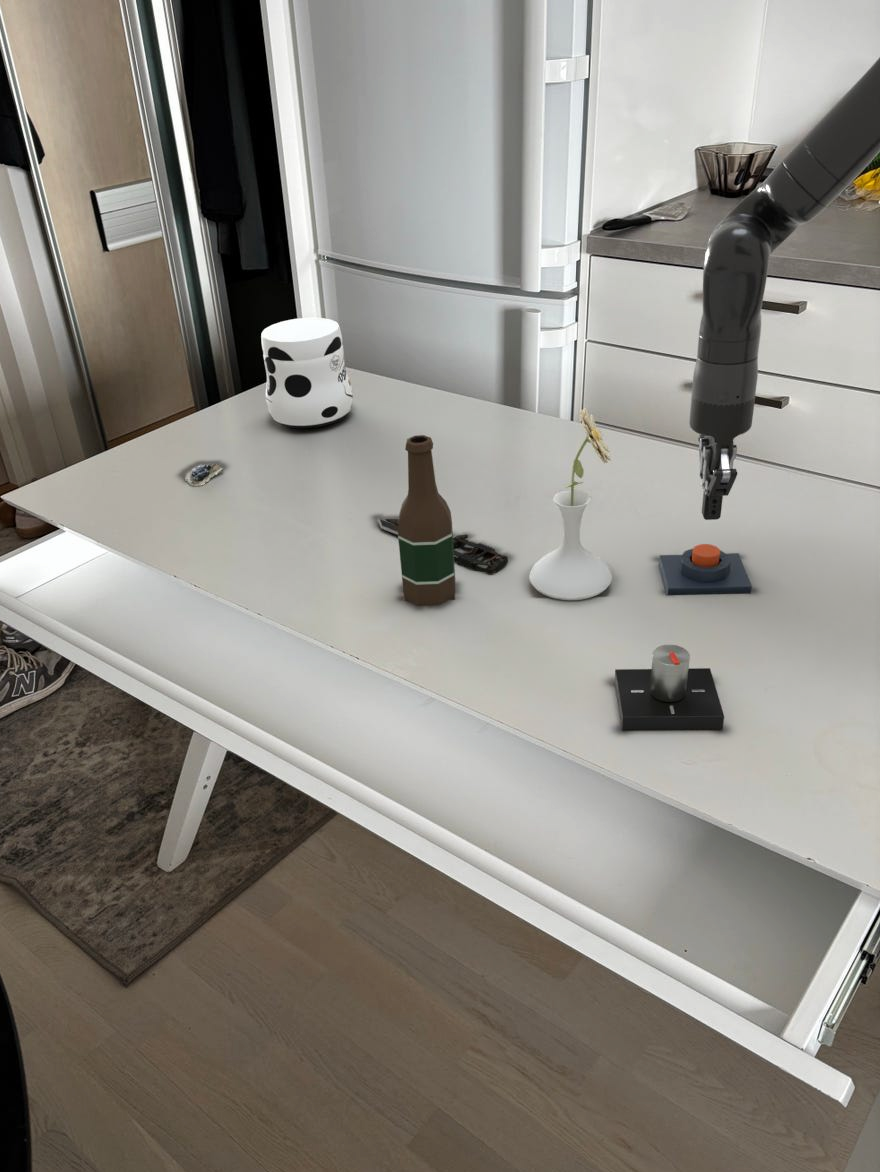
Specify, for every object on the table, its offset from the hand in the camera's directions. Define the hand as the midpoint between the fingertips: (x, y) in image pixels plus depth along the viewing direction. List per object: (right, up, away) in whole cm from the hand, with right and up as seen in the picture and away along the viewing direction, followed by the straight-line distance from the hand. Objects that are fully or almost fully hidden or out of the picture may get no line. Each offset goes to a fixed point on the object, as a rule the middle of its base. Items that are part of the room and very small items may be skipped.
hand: (710, 516), depth 130 cm
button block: (+1, -8, +6) cm, 10 cm away
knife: (-36, -2, +20) cm, 41 cm away
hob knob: (-11, -22, -18) cm, 31 cm away
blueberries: (-77, +13, +48) cm, 92 cm away
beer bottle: (-37, -11, +8) cm, 39 cm away
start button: (+1, -6, +4) cm, 7 cm away
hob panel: (-11, -25, -17) cm, 32 cm away
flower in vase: (-17, -9, +8) cm, 21 cm away
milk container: (-59, +28, +68) cm, 94 cm away
